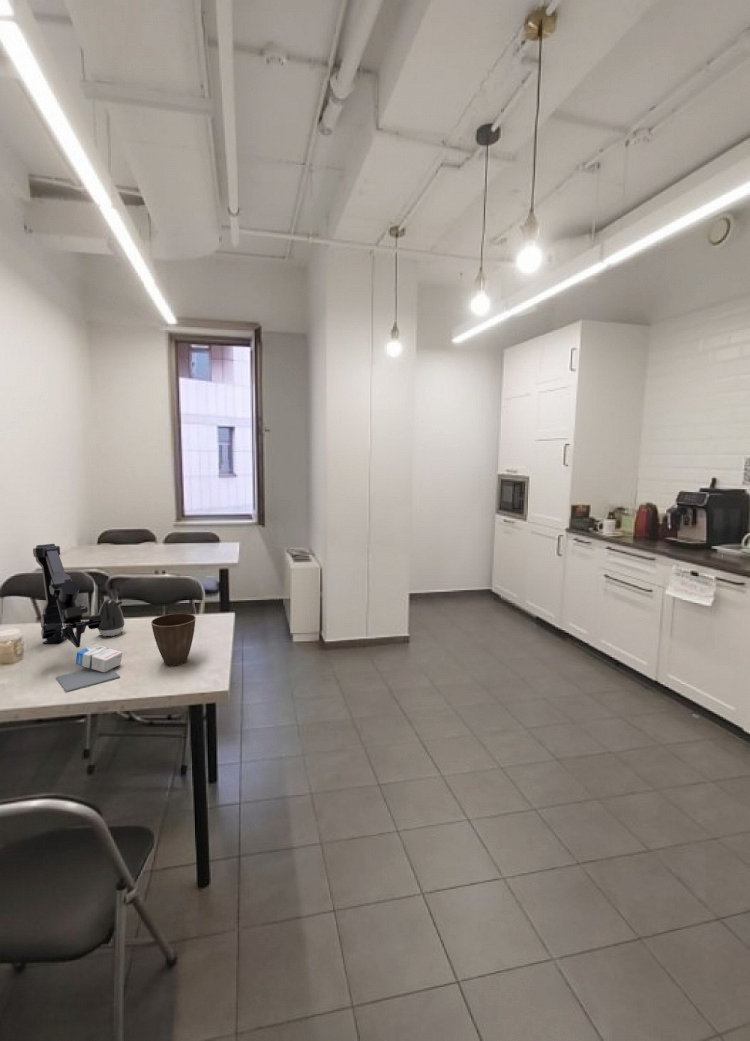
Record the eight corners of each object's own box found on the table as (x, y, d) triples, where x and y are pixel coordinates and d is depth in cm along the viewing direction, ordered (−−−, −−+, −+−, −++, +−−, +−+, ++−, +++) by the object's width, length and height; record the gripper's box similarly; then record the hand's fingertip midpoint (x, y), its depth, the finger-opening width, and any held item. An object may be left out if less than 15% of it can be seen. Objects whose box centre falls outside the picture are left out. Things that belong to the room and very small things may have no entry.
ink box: (74, 664, 177) (104, 673, 175) (76, 651, 177) (106, 660, 175) (93, 656, 186) (121, 664, 184) (94, 643, 185) (123, 651, 183)
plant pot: (143, 666, 183) (141, 623, 181) (173, 651, 197) (171, 611, 195) (177, 672, 178) (175, 628, 176) (205, 657, 192) (204, 615, 190)
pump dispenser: (117, 639, 210) (115, 602, 208) (92, 638, 210) (90, 602, 208) (130, 630, 220) (128, 596, 218) (105, 630, 220) (103, 595, 218)
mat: (55, 678, 173) (55, 676, 173) (107, 665, 184) (107, 663, 184) (66, 692, 163) (66, 690, 163) (120, 677, 173) (120, 676, 173)
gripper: (40, 602, 176) (49, 642, 169) (99, 592, 188) (111, 629, 182) (37, 619, 182) (46, 658, 176) (95, 609, 195) (105, 644, 188)
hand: (78, 646), depth 180 cm, fingers closed
